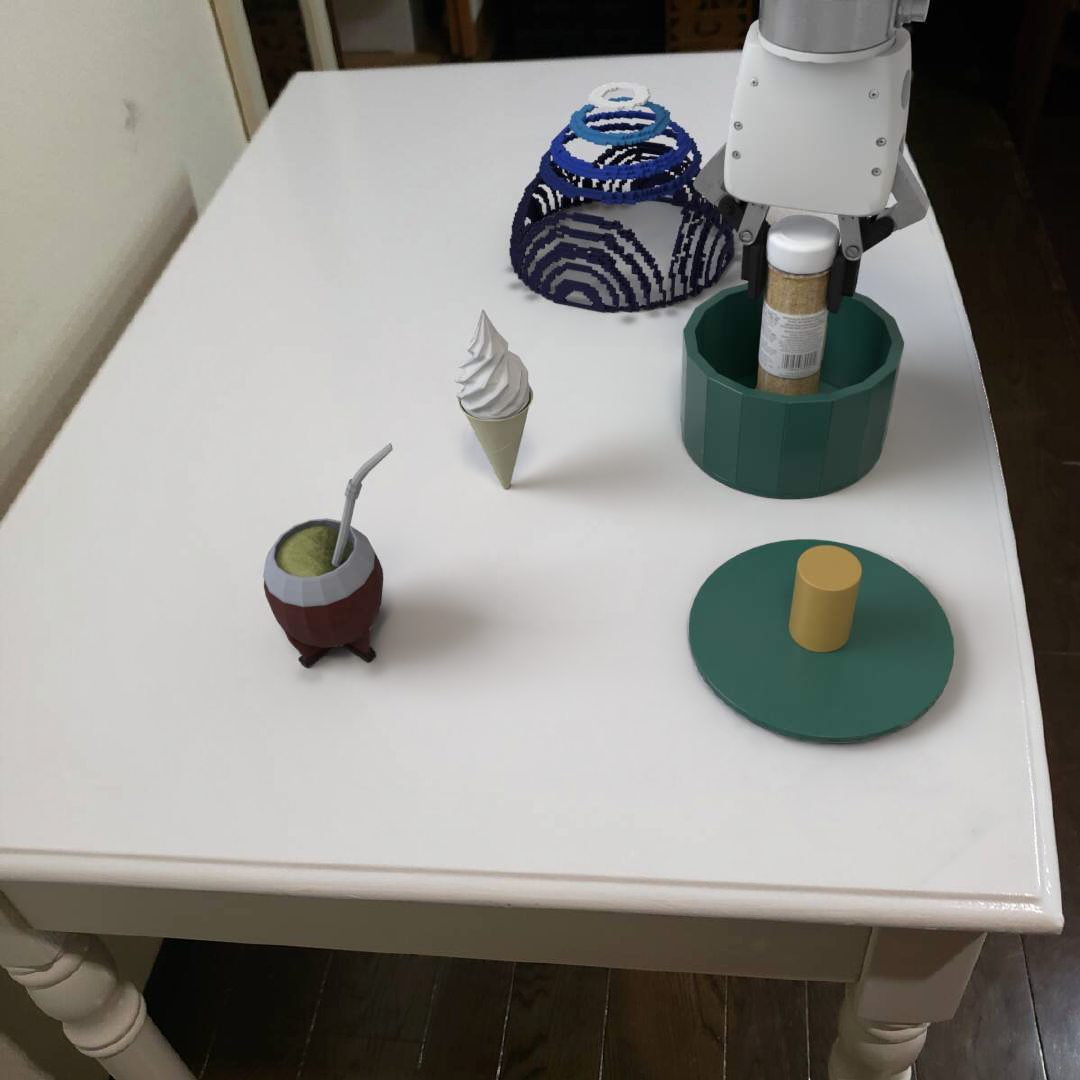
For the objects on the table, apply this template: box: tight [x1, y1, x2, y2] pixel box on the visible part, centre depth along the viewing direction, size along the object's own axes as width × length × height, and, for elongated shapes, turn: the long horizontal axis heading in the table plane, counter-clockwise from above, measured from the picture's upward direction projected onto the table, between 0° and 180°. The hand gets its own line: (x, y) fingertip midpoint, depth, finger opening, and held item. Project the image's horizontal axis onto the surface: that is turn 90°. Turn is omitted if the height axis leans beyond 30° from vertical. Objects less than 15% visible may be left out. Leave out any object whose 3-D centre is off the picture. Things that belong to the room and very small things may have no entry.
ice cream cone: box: [453, 309, 534, 490], centre depth 75 cm, size 5×5×15 cm
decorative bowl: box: [508, 81, 736, 314], centre depth 97 cm, size 20×20×14 cm
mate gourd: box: [262, 442, 394, 669], centre depth 66 cm, size 8×8×15 cm
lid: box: [688, 538, 955, 744], centre depth 66 cm, size 16×16×7 cm
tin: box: [680, 282, 905, 500], centre depth 79 cm, size 15×15×8 cm
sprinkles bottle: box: [755, 214, 841, 396], centre depth 76 cm, size 5×5×14 cm
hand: (796, 293), depth 74 cm, fingers closed on sprinkles bottle, 4 cm apart
